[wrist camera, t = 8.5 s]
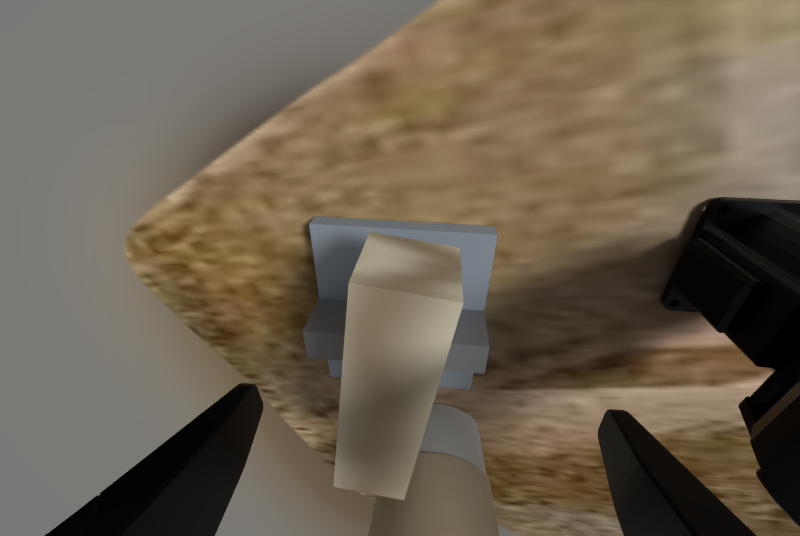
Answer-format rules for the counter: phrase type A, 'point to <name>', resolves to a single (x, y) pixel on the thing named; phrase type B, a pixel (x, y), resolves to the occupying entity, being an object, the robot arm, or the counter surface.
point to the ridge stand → (336, 262)
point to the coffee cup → (442, 484)
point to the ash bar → (393, 358)
